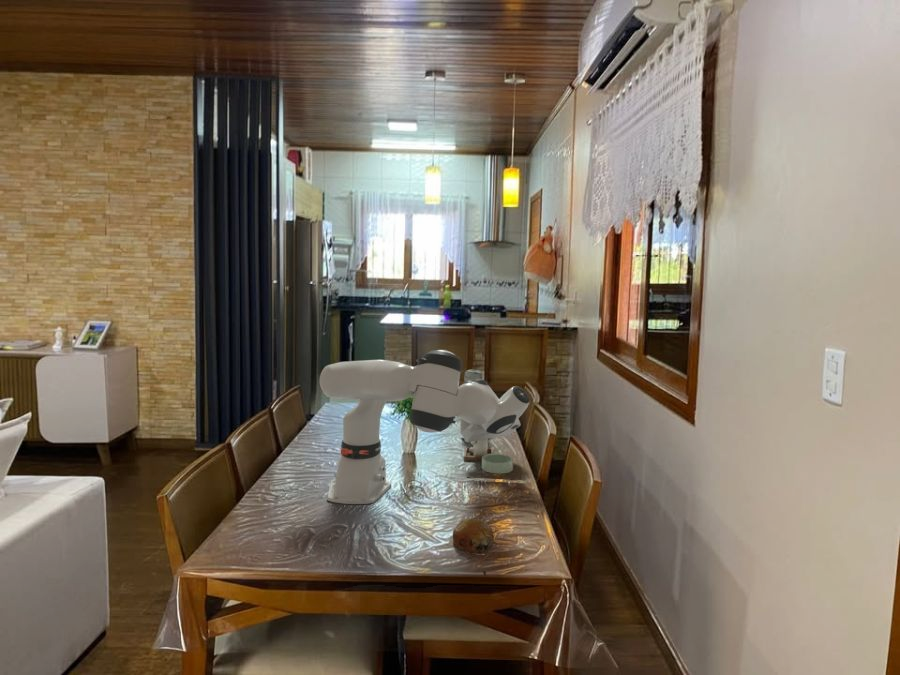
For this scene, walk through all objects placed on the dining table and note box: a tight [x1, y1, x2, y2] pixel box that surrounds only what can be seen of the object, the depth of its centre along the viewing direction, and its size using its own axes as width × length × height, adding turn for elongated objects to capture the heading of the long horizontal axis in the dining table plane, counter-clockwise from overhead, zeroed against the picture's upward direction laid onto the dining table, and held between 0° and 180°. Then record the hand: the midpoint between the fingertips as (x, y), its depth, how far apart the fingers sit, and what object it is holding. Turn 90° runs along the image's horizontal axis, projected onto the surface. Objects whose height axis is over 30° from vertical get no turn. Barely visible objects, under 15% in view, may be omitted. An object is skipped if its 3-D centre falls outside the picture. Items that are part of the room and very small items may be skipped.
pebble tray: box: [463, 447, 494, 463], centre depth 217 cm, size 11×10×2 cm
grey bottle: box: [459, 369, 484, 437], centre depth 241 cm, size 10×10×28 cm
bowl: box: [481, 453, 514, 474], centre depth 205 cm, size 10×10×4 cm
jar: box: [472, 439, 489, 457], centre depth 215 cm, size 5×5×11 cm
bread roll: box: [452, 517, 495, 553], centre depth 151 cm, size 10×10×8 cm
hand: (479, 441), depth 215 cm, fingers closed on jar, 5 cm apart
